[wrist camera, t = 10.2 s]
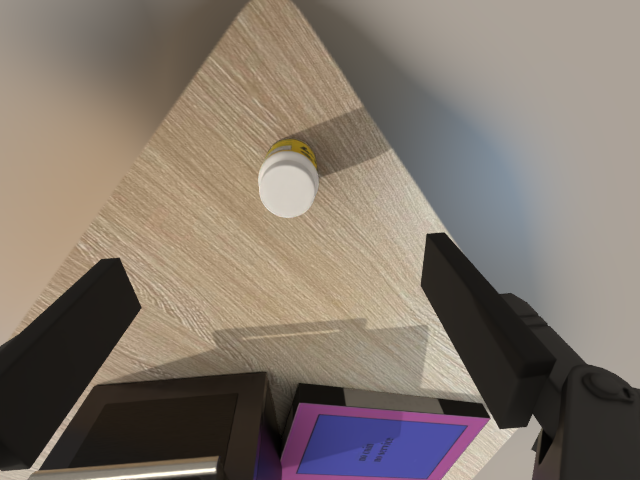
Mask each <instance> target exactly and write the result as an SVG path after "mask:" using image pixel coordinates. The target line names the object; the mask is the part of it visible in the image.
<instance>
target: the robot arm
mask: <svg viewBox="0 0 640 480" xmlns="http://www.w3.org/2000/svg"><path fill="white" fill-rule="evenodd" d="M421 287H422V289H423V291H424V293H425V294H426V296H427V298H428V300H429V302H430V303H431V305H432V307H433V309H434V311H435V313H436V314H437V316H438V318H439V320H440V322H441V323H442V325H443V327H444V329H445V331H446V332H447V334H448V336H449V338H450V340H451V342H452V343H453V345H454V347H455V349H456V351H457V352H458V354H459V356H460V358H461V360H462V362H463V363H464V365H465V367H466V369H467V371H468V372H469V374H470V376H471V378H472V380H473V381H474V383H475V385H476V387H477V389H478V391H479V392H480V394H481V396H482V398H483V400H484V401H485V403H486V405H487V407H488V409H489V410H490V412H491V414H492V416H493V418H494V420H495V421H496V423H497V425H498V427H499V429H507V428H519V427H527V425H528V423H529V421H530V418H531V416H532V414H533V415H534V416H535V418H536V419H537V421H538V422H539V424H540V425H541V427H542V429H541V431H540V433H539V435H538V437H537V439H536V441H535V443H534V445H533V447H532V450H533V451H535V452H536V457H535V464H534V470H533V477H532V480H640V389H637V388H632V387H631V386H630V385H629V384H628V383H627V382H626V381H624V380H623V379H622V378H620V377H619V376H617V375H616V374H614V373H611V372H610V371H608V370H605V369H603V368H600V367H596V366H593V365H588V364H586V363H585V362H584V361H583V360H582V359H581V358H580V356H578V354H577V353H576V352H575V351H574V350H573V349H572V348H571V347H570V346H569V345H568V344H567V343H566V342H565V341H564V340H563V339H562V338H561V337H560V336H559V335H558V334H557V333H556V332H555V331H554V330H553V329H552V328H551V327H550V326H548V325H547V323H546V322H545V321H544V320H543V319H542V318H541V317H540V316H538V313H537V312H536V311H534V309H533V308H532V307H531V306H530V305H529V304H528V303H527V302H525V301H523V300H522V299H520V298H518V297H517V296H515V295H514V294H512V293H508V294H498V292H497V291H496V290H495V289H494V288H493V287H492V286H491V284H490V283H489V282H488V281H487V280H486V279H485V278H484V277H483V275H482V274H481V273H480V272H479V271H478V270H477V269H476V268H475V266H474V265H473V264H472V263H471V262H470V261H469V260H468V258H467V257H466V256H465V255H464V254H463V253H462V252H461V251H460V249H459V248H458V247H457V246H456V245H455V244H454V243H453V242H452V240H451V239H450V238H449V237H448V236H447V235H446V234H445V233H432V234H427V236H426V244H425V253H424V261H423V270H422V278H421ZM141 308H142V307H141V305H140V303H139V301H138V298H137V296H136V294H135V292H134V289H133V287H132V285H131V283H130V280H129V278H128V276H127V274H126V271H125V269H124V267H123V265H122V262H121V260H120V258H110V259H101V260H100V261H99V262H98V263H97V264H95V265H94V266H93V267H92V268H91V269H90V270H89V271H88V272H87V273H86V274H84V275H83V276H82V277H81V278H80V279H79V280H78V281H77V282H76V283H75V284H74V285H72V286H71V287H70V288H69V289H68V290H67V291H66V292H65V293H64V294H63V295H61V296H60V297H59V298H58V299H57V300H56V301H55V302H54V303H53V304H52V305H51V306H49V307H48V308H47V309H46V310H45V311H44V312H43V313H42V314H41V315H40V316H38V317H37V318H36V319H35V320H34V321H33V322H32V323H31V324H30V325H29V326H28V327H26V328H25V329H24V330H23V331H22V332H21V333H20V334H19V335H17V336H15V337H14V338H12V339H11V340H9V341H8V342H6V343H5V344H3V345H1V346H0V470H1V471H9V470H21V469H30V468H31V466H32V465H33V463H34V462H35V461H36V459H37V458H38V456H39V455H40V453H41V452H42V451H43V449H44V448H45V446H46V445H47V443H48V442H49V440H50V439H51V438H52V436H53V435H54V433H55V432H56V430H57V429H58V427H59V426H60V425H61V423H62V422H63V420H64V419H65V417H66V416H67V415H68V413H69V412H70V410H71V409H72V407H73V406H74V404H75V403H76V402H77V400H78V399H79V397H80V396H81V394H82V393H83V392H84V390H85V389H86V387H87V386H88V384H89V383H90V381H91V380H92V379H93V377H94V376H95V374H96V373H97V371H98V370H99V368H100V367H101V366H102V364H103V363H104V361H105V360H106V358H107V357H108V356H109V354H110V353H111V351H112V350H113V348H114V347H115V345H116V344H117V343H118V341H119V340H120V338H121V337H122V335H123V334H124V332H125V331H126V330H127V328H128V327H129V325H130V324H131V322H132V321H133V320H134V318H135V317H136V315H137V314H138V312H139V311H140V309H141Z"/></svg>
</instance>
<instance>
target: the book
mask: <svg viewBox="0 0 640 480" xmlns="http://www.w3.org/2000/svg"><path fill="white" fill-rule="evenodd" d="M490 419H491V418H490V416H489V415H488V413H487V411H486V409H485V408H484V406H483V404H481V403H473V402H464V401H455V400H446V399H438V398H429V397H420V396H411V395H403V394H394V393H385V392H376V391H368V390H359V389H350V388H342V387H333V386H323V385H312V384H301V383H299V385H298V388H297V391H296V394H295V398H294V401H293V404H292V407H291V410H290V414H289V417H288V420H287V423H286V426H285V430H284V433H283V436H282V439H281V457H280V461H281V465H282V480H441V479H442V478H443V477H444V475H445V474H446V473H447V472H448V470H449V469H450V468H451V467H452V466H453V464H454V463H455V462H456V461H457V459H458V458H459V457H460V456H461V454H462V453H463V452H464V451H465V450H466V448H467V447H468V446H469V445H470V443H471V442H472V441H473V440H474V438H475V437H476V436H477V435H478V434H479V432H480V431H481V430H482V429H483V427H484V426H485V425H486V424H487V422H488V421H489V420H490Z"/></svg>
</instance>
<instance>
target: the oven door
mask: <svg viewBox="0 0 640 480" xmlns="http://www.w3.org/2000/svg"><path fill="white" fill-rule="evenodd" d="M267 382H268V378H267V373H266V372H260V373H248V374H236V375H224V376H212V377H199V378H187V379H175V380H163V381H151V382H139V383H127V384H114V385H102V386H94V387H93V389H92V390H91V392H90V393H89V395H88V396H87V398H86V399H85V401H84V402H83V404H82V405H81V407H80V408H79V410H78V411H77V413H76V414H75V416H74V417H73V419H72V420H71V422H70V423H69V425H68V426H67V428H66V429H65V431H64V432H63V434H62V435H61V437H60V438H59V440H58V441H57V443H56V445H55V446H54V448H53V449H52V451H51V452H50V454H49V455H48V457H47V458H46V460H45V461H44V463H43V464H42V466H41V467H40V469H39V470H38V471H35V472H34V473H32V474H31V475H30V477H29V478H28V480H256V478H257V469H258V461H259V452H260V443H261V434H262V426H263V417H264V408H265V400H266V391H267Z"/></svg>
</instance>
